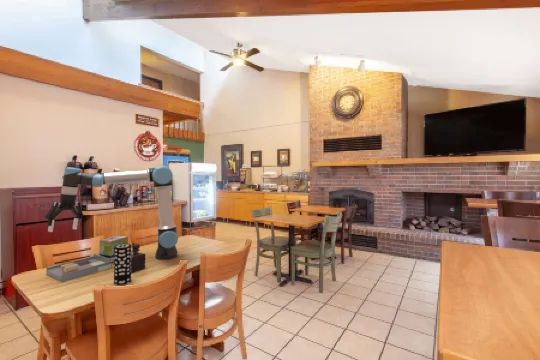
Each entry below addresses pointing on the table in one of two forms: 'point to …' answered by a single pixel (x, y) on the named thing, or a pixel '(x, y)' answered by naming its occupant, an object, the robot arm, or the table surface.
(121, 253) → the spotted tube
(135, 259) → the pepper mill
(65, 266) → the block
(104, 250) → the tea box
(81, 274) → the track
